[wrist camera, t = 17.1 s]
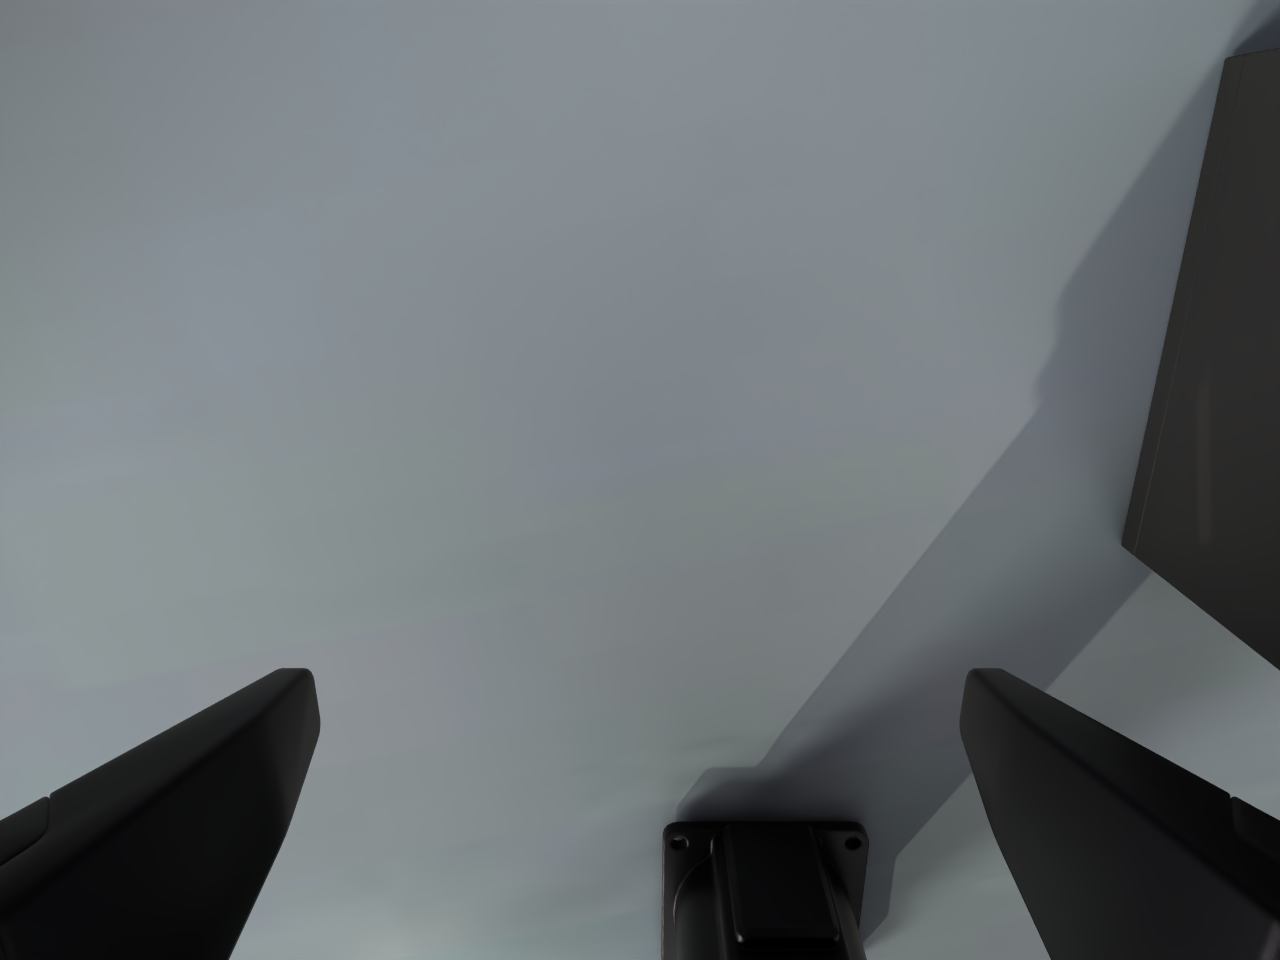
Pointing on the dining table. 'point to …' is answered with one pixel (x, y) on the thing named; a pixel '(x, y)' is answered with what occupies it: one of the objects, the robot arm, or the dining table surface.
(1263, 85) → the black box
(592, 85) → the dining table surface
